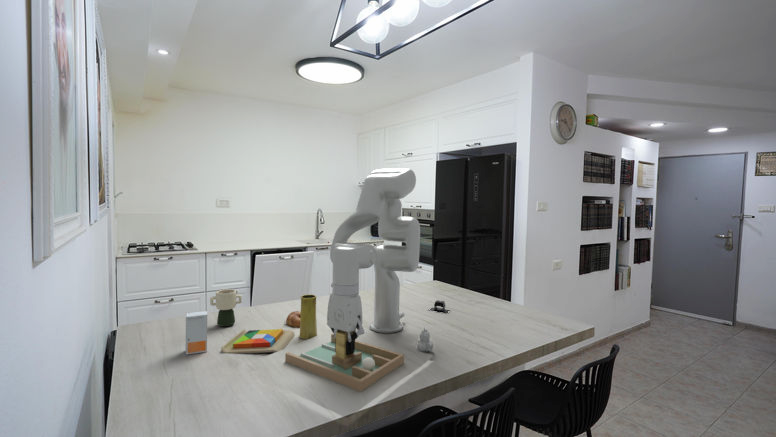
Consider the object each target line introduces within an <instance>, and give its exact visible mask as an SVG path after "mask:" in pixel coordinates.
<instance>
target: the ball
mask: <svg viewBox="0 0 776 437" xmlns="http://www.w3.org/2000/svg"><path fill="white" fill-rule="evenodd" d="M362 367H363V369H366V370H368V371H371V370H373V369H374V367H375V361H374V360H373V359H372V358H370V357H367V358H365V359H364V360H363V362H362Z"/></svg>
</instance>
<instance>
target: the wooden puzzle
mask: <svg viewBox="0 0 776 437" xmlns="http://www.w3.org/2000/svg"><path fill="white" fill-rule="evenodd" d="M294 337H295V332H294V331H293V330H290V329H286V330H284V329H283V328H277V329H253V330H251V329H250V330H248V331H247V330H245V329H242V330H240V331H239V333H236V334H235V335H234V336H233V337H232V338H230V340H228V341H227V342H225V344H223V345H222V347H221V353H222V354H237V355H238V354H241V355H243V354H244V355H245V354H259V353H260V354H261V353H263V354H264V353H277V352H280V351H282V350H283V351H284V350H285V349H286V347H287V346H288V345H289V344H290V342H291V341H292V340H293V338H294Z"/></svg>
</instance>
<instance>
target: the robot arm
mask: <svg viewBox="0 0 776 437" xmlns="http://www.w3.org/2000/svg"><path fill="white" fill-rule="evenodd" d="M416 183H417V177H416V174H415V172H414V171H413V169H411V168H380V169H375V170H373V171H371V172H370V175H368V176H366V177H365V179H364V181H363V185H362V188H361V191H360V195H359V199H358V202H357V205H356V209H355V211H354V212H353V213H352V214H351V215H349V216H348V217H347V218H346V219H345V220H344V221H342V223H341V224H339V227H338V228H337V229H336V231H335V233H334V236H333V239H332V243H331V246H330V250H329V257H330V258H329V259H330V260H331V263H332V282H331V284H330V286H331V288H332V292H330V293H329V294H330V295H329V298H328V304H327V313H326V315H327V316H326V325H327V327H329V328H330V329H331V332H332V334H333V336H334V337H335V351H336V332H338V331H340V330H341V331H345V332H347V338H348V341H346V355H350V354H352V353H354V352H355V340H357V339H358V338H359V337H360V336H362V335H364V334H365V333H366V332H365V329H364V327H363V307H362V306H363V304H362V299H361V298H362V297H361V295H360V294H359V292H360V290H359V289H360V288H359V287H360V286H359V283H360V270H362V269H370V268H371V267H373V269H374V270H373V271H374V305H373V306H374V309H373V310H374V312H373V315H374V316H373V321H372V322H370V324H369V328H370V330H372V331H374V332H376V333H383V334H392V333H393V334H394V333H397V332H400V331H402V330H403V329H404V324H403V322H401V319H402V318H405V313H404V312H400V296H401V295H400V294H401V293H400V291H401V290H400V289H401V283H400V279H399V277H398V275H397V273H396V272H403V273H405V272H406V273H413V272H415V271H417V269H418V268H419V263H420V251H421V250H420V249H421V247H420V246H421V226H420V222H419V220H418V219H417V218H416V217H412V216H402V208H403V207H402V201H401V200H402V199H404V198H405V197H407V196H408V195H409V194H411V193H412V192H413V190H414V189H415V187H416ZM377 223H378V226H377V231H378V237H379V238H380V239H381V240H382V241H386V242H394V243H395V242H396V243H405V245H396V244H381V245H378V246H376V247H374V246H373V245H371V244H368V243H361V242H360V243H359V242H349V239H350V238H351V236H353V235H354V234H355V233H356V232H359V231H360V230H362V229H365V228H367V227H371V226H373V225H375V224H377ZM351 332H352V334H351Z"/></svg>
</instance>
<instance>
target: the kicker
mask: <svg viewBox="0 0 776 437" xmlns="http://www.w3.org/2000/svg"><path fill="white" fill-rule="evenodd" d="M351 334H352V332H351ZM346 341H348V338H347V332H345V331H341V330H340V331H338V332H336V354H335V355H333V356H332V363H334V364H336V365H339V366H342V367H343V369H345V370H346V369H348V368H350V367H352V366H353V365H355V364H357V363H359V362H361V361H362V352H358V353H356V354H355V353H352V354H350V355H346Z"/></svg>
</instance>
